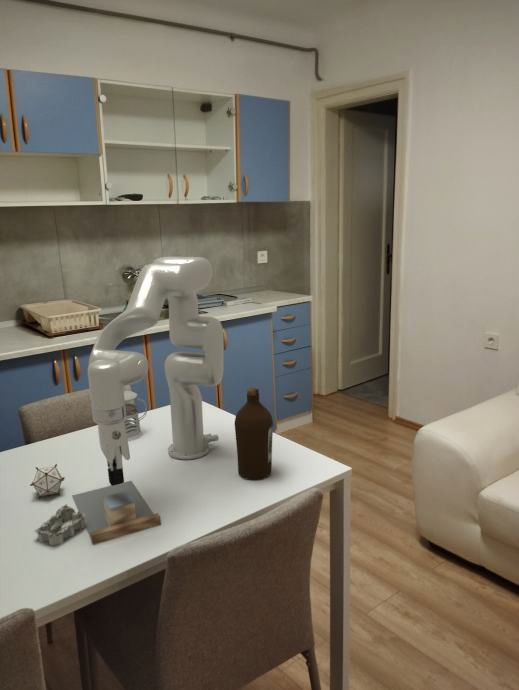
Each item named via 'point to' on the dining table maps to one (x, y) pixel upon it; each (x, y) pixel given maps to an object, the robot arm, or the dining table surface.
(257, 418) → the olive oil
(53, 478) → the game die
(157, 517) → the rail
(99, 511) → the grey rectangular board
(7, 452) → the dining table surface
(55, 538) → the carved stone fragment
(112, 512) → the block
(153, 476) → the dining table surface
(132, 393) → the french press
